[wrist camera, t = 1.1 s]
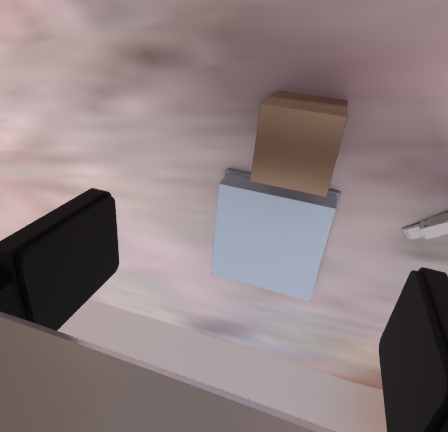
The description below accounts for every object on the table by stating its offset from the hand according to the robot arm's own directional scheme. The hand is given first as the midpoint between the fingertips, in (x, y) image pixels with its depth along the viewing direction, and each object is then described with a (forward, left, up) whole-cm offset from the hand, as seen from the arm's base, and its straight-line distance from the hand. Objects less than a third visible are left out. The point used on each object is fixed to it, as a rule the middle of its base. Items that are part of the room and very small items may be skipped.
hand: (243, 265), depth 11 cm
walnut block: (0, 0, -18) cm, 18 cm away
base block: (+9, -1, -18) cm, 20 cm away
